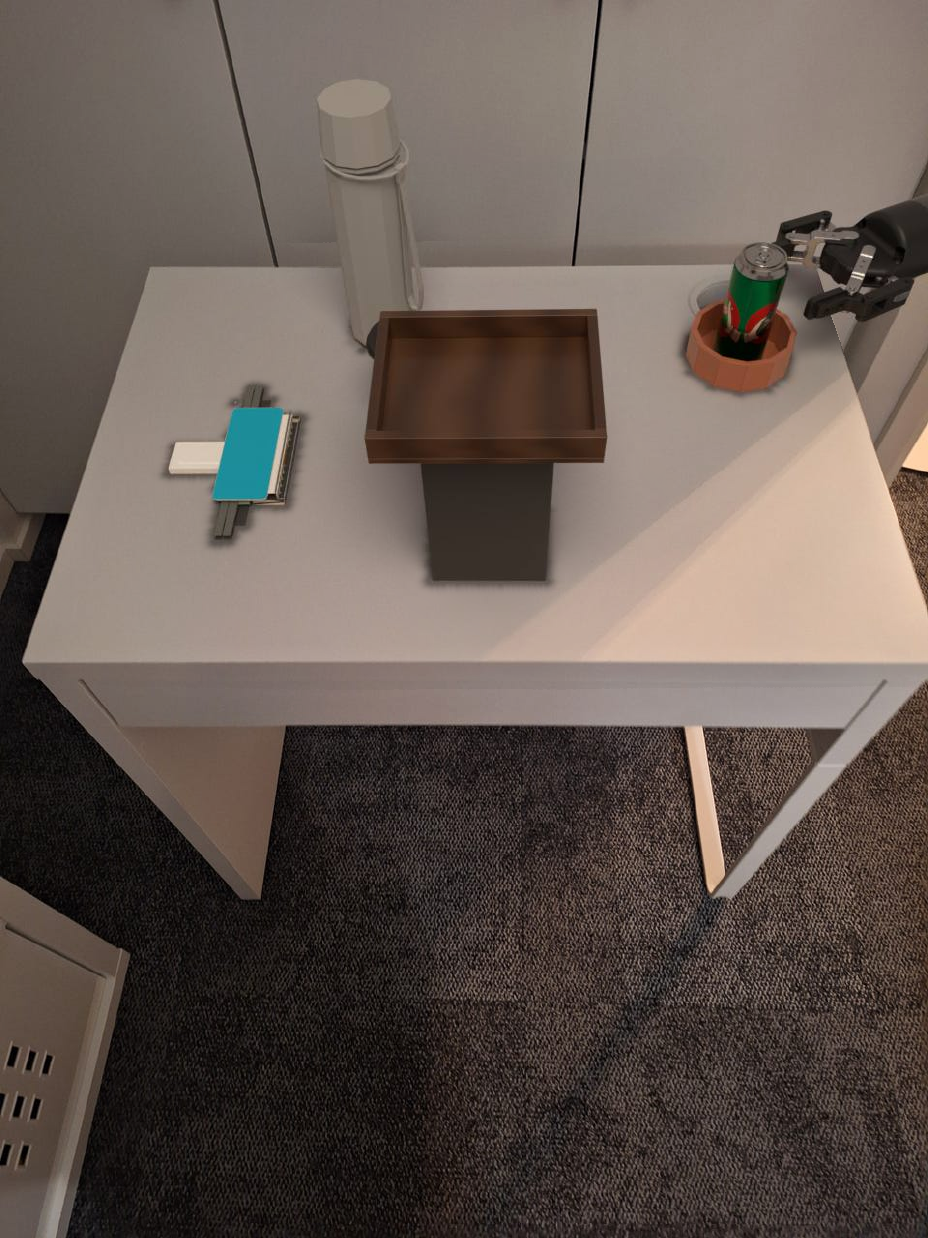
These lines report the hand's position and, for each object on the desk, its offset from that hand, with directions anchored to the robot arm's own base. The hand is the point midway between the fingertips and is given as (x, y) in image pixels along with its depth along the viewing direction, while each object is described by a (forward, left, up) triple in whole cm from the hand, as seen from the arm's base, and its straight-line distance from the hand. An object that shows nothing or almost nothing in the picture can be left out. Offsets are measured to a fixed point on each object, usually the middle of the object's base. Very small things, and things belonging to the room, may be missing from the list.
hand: (780, 285), depth 90 cm
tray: (+18, +34, +10) cm, 40 cm away
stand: (+18, +34, -8) cm, 40 cm away
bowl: (+2, +2, -8) cm, 8 cm away
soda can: (+2, +2, -8) cm, 8 cm away
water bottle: (+38, +10, -8) cm, 40 cm away
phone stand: (+46, +32, -8) cm, 57 cm away
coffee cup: (+31, +20, -8) cm, 38 cm away
